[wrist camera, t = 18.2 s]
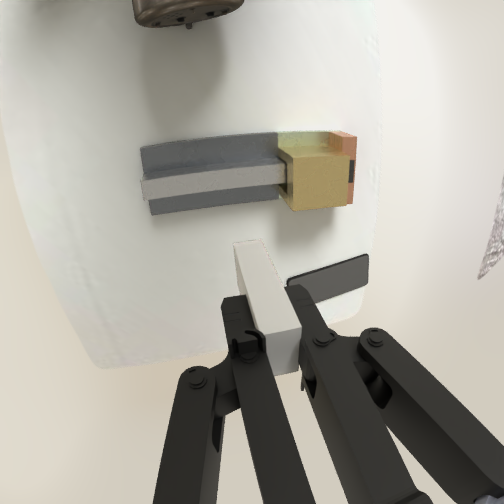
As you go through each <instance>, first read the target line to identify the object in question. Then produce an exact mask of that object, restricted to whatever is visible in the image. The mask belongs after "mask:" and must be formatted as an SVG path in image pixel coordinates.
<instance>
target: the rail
mask: <svg viewBox="0 0 504 504" xmlns="http://www.w3.org/2000/svg"><path fill="white" fill-rule="evenodd" d="M314 145H329V146H332V147H334V148H336V149H338V150H340V151H342V152H344V153H346V154H348V155H350V163H349V179H348V193H347V204H352V202H353V191H354V178H355V164H356V146H357V137H356V136H353V135H350V134H348V133H345V132H342V131H287V132H267V133H251V134H239V135H228V136H218V137H209V138H200V139H192V140H184V141H177V142H170V143H164V144H158V145H152V146H146V147H141V148H140V151H141V157H142V164H143V170H144V175H143V177H142V179H141V181H140V182H141V187H142V193H143V198H144V201H145V200H149V204H150V209H151V215H158V214H164V213H171V212H178V211H185V210H192V209H199V208H206V207H214V206H222V205H230V204H238V203H246V202H255V201H264V200H273V199H283V198H282V197H281V196H280V195H279V185H287V163H286V162H285V161H284V160H283V159H281V158H280V157H279V156H278V147H290V146H314Z"/></svg>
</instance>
